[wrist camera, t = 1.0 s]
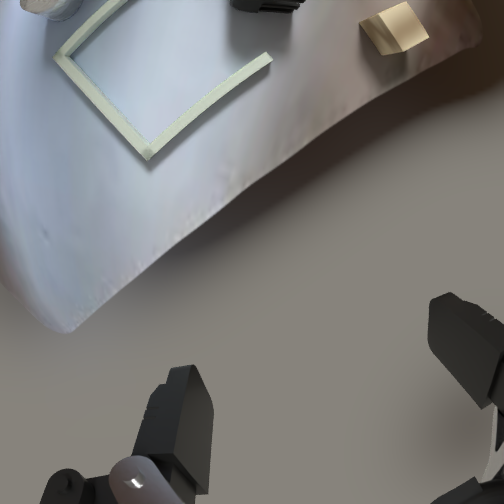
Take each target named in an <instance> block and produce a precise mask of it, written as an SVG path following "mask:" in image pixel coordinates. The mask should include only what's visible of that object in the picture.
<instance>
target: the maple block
mask: <svg viewBox="0 0 504 504" xmlns="http://www.w3.org/2000/svg"><path fill="white" fill-rule="evenodd" d="M359 24H360V25H361V26H362V28H363V29H364V31H365V32H366V33H367V35H368V36H369V38H370V39H371V40H372V42H373V43H374V45H375V46H376V48H377V49H378V51H379V52H380V54H381V55H382V56H383V55H388V54H394V53H399V52H404V51H406V50H407V49H409V48H411V47H413V46H414V45H416V44H418V43H420V42H422V41H423V40H425V39H427V38H429V36H428V34H427V33H426V31H425V29H424V28H423V26H422V24H421V23H420V21H419V20H418V18H417V17H416V15H415V14H414V12H413V11H412V9H411V8H410V6H409V5H408V3H407V2H403V3H401V4H398V5H396V6H393V7H391V8H389V9H386V10H384V11H382V12H380V13H378V14H375V15H373V16H371V17H369V18H367V19H365V20H363V21H361V22H359Z"/></svg>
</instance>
